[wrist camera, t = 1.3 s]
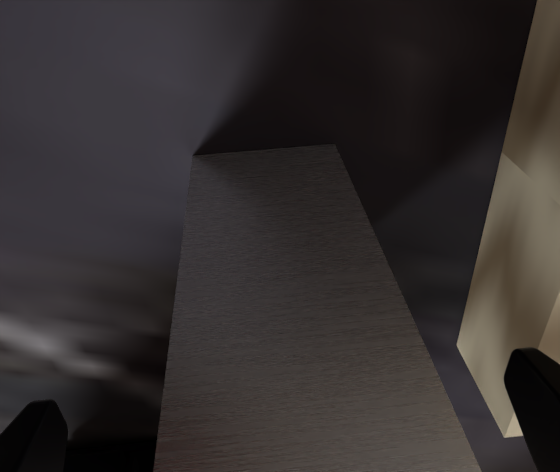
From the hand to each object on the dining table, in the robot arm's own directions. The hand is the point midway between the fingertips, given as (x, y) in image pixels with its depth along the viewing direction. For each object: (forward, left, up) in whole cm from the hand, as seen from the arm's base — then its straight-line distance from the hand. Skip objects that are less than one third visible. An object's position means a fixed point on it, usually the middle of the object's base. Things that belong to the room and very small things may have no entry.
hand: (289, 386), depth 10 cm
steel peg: (0, 0, -6) cm, 6 cm away
